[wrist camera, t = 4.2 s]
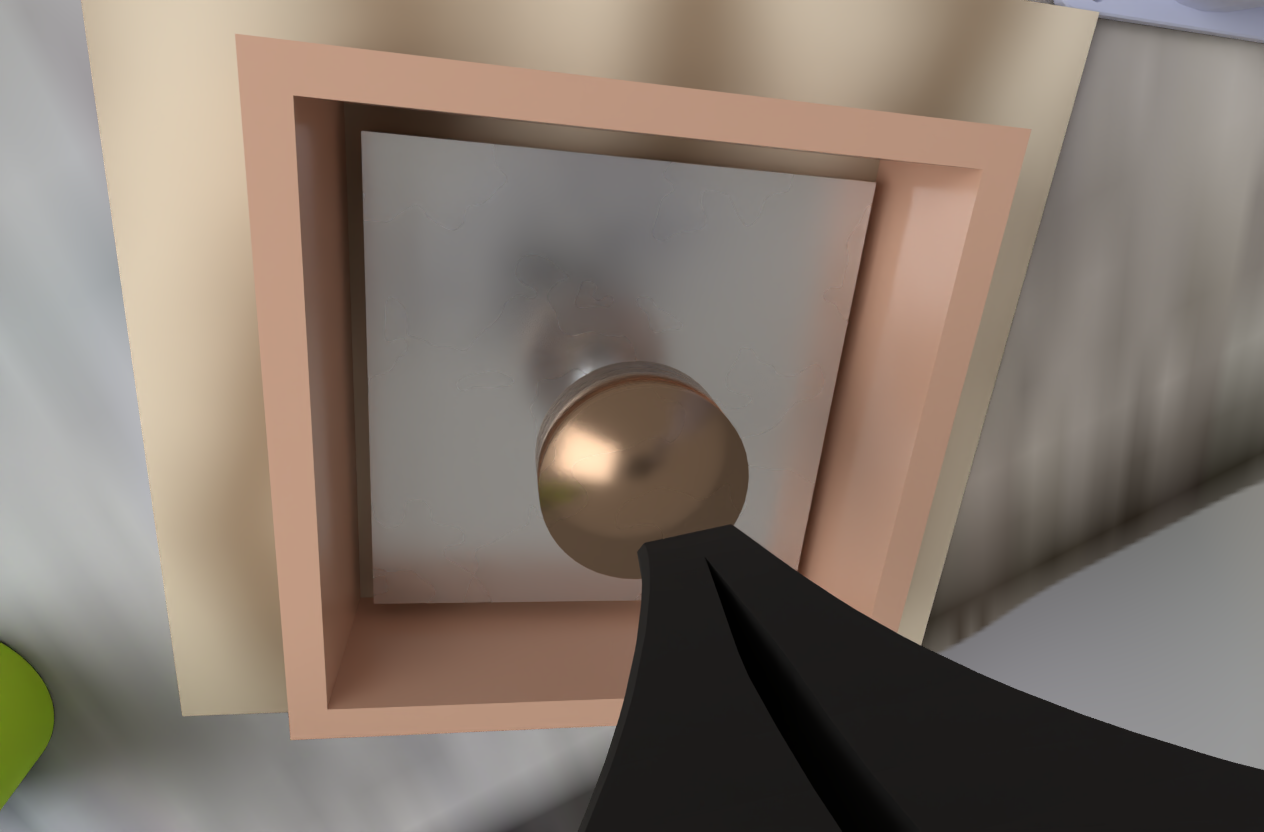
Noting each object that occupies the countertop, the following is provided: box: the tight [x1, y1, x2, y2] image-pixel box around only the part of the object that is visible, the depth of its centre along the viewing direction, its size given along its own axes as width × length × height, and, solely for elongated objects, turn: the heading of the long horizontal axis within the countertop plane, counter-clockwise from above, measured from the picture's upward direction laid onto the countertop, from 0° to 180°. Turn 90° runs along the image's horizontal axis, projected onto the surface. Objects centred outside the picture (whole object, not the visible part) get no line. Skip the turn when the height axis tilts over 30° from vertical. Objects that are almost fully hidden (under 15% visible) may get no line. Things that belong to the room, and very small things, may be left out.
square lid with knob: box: [361, 131, 876, 604], centre depth 16 cm, size 11×11×5 cm
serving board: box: [81, 0, 1099, 716], centre depth 19 cm, size 22×20×1 cm
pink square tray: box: [235, 34, 1032, 740], centre depth 17 cm, size 14×14×4 cm
